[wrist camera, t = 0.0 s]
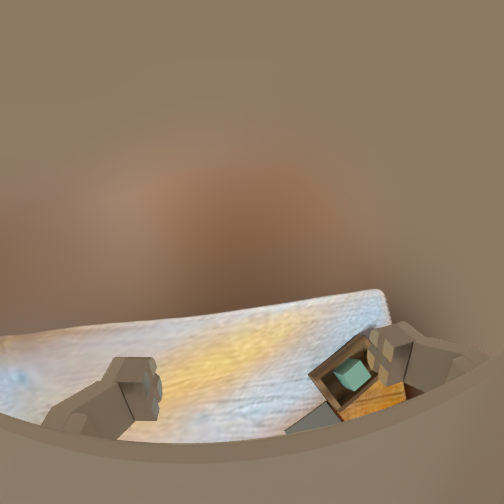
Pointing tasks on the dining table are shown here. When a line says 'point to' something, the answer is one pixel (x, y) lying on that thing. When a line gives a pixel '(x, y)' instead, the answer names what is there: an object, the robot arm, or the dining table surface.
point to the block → (351, 374)
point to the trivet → (315, 419)
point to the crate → (328, 381)
